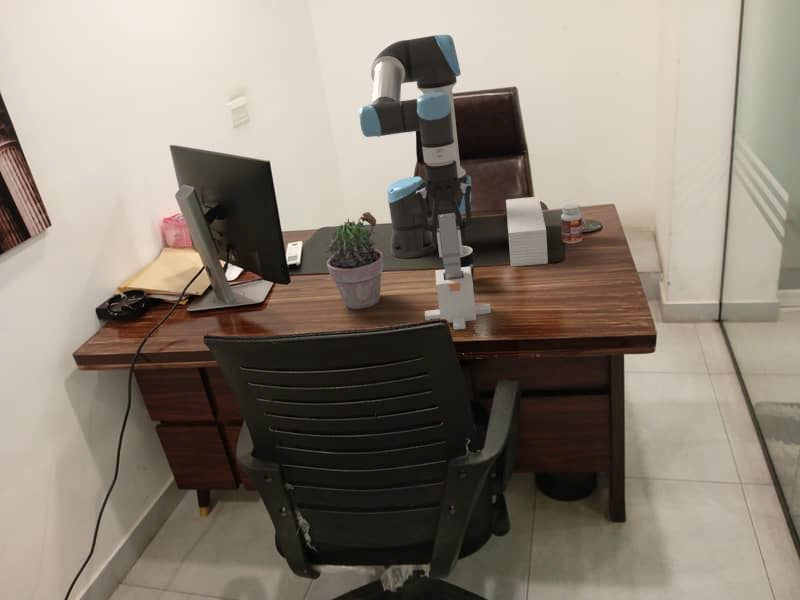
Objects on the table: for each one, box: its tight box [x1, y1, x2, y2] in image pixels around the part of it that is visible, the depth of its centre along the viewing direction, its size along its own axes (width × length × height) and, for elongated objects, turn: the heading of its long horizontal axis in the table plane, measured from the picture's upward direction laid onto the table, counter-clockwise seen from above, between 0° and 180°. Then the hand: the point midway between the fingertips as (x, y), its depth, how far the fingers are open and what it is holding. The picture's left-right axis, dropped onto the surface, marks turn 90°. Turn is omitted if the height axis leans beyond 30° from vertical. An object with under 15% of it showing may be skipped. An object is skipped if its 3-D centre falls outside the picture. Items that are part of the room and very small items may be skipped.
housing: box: [424, 266, 492, 331], centre depth 172 cm, size 17×17×11 cm
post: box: [438, 213, 462, 280], centre depth 168 cm, size 4×4×24 cm
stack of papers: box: [505, 196, 549, 267], centre depth 209 cm, size 32×11×11 cm, turn 173°
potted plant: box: [320, 211, 387, 310], centre depth 184 cm, size 18×20×25 cm
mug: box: [440, 245, 475, 281], centre depth 190 cm, size 12×9×10 cm
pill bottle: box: [560, 202, 583, 245], centre depth 207 cm, size 6×6×11 cm
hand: (450, 253), depth 167 cm, fingers closed on post, 4 cm apart
